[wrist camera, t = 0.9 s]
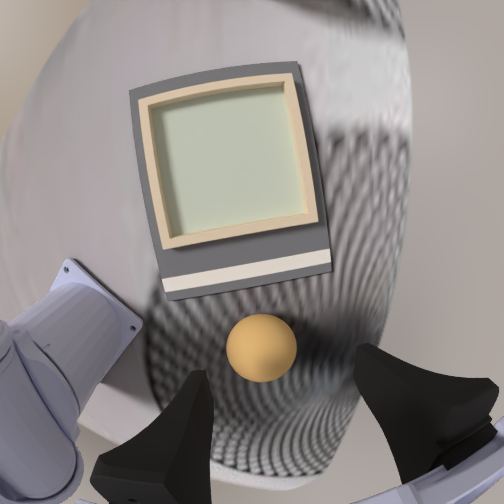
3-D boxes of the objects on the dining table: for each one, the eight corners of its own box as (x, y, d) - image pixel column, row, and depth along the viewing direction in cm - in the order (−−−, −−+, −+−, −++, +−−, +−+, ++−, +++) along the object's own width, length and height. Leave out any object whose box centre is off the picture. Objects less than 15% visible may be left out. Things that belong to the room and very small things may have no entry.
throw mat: (330, 270, 20) (336, 275, 19) (168, 299, 20) (164, 306, 18) (296, 62, 16) (300, 55, 15) (130, 91, 16) (124, 86, 15)
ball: (260, 366, 21) (267, 405, 17) (213, 334, 20) (210, 372, 16) (301, 326, 21) (319, 361, 16) (256, 290, 20) (263, 320, 15)
